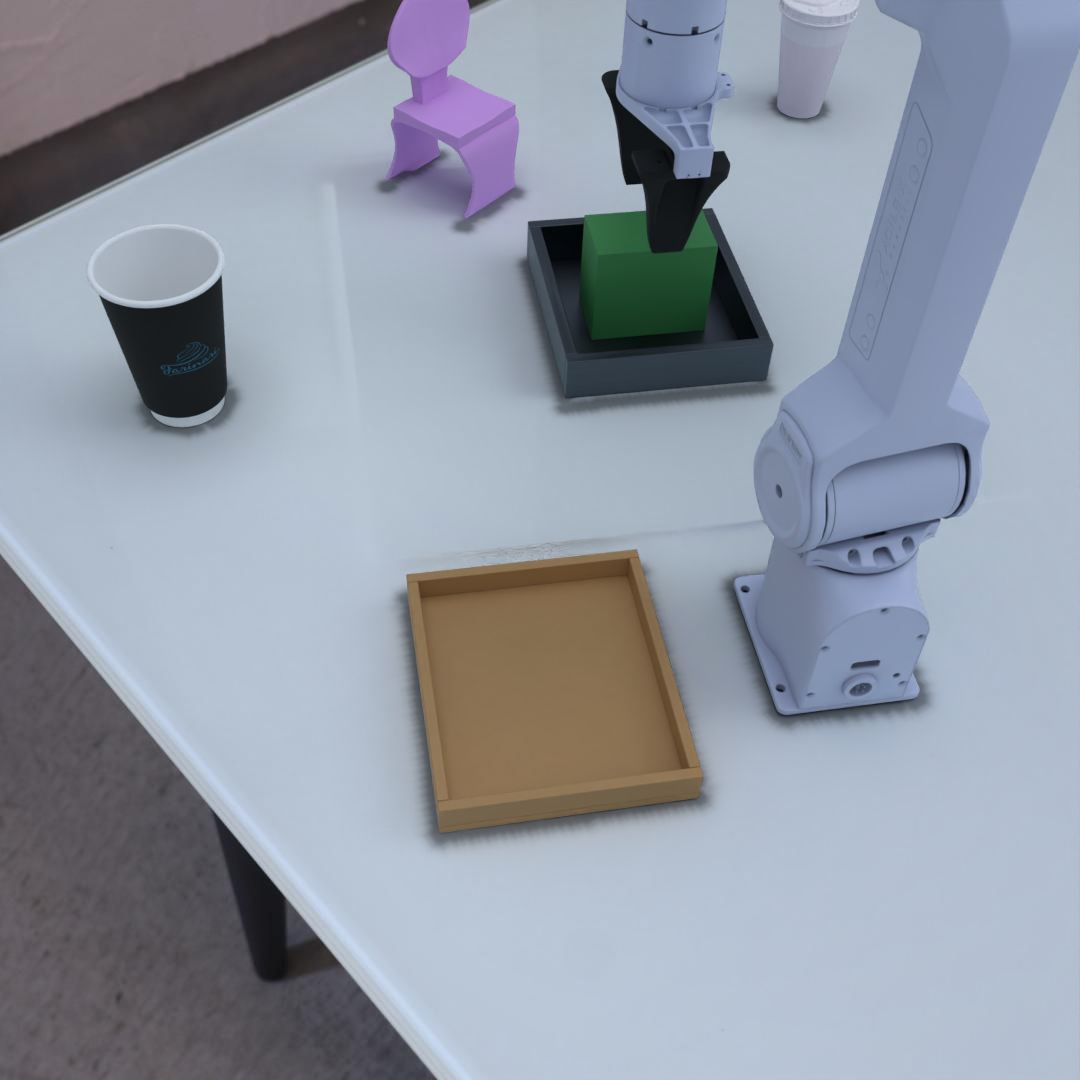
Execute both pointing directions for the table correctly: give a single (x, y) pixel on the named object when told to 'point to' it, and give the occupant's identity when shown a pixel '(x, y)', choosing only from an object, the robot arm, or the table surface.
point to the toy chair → (448, 102)
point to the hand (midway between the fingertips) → (652, 214)
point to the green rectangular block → (643, 278)
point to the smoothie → (810, 51)
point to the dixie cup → (167, 316)
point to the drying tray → (547, 691)
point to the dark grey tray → (651, 360)
